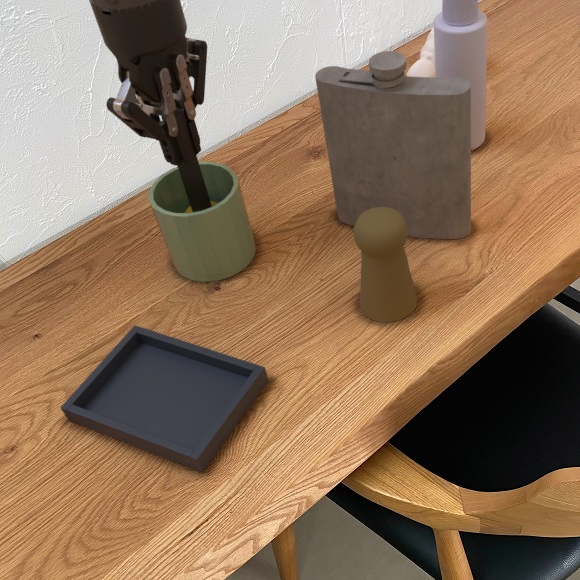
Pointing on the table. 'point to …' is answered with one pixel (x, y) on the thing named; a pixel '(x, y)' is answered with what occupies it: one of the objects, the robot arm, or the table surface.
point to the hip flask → (399, 145)
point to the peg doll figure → (384, 265)
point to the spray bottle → (464, 55)
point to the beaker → (204, 225)
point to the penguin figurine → (425, 60)
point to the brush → (192, 171)
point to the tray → (167, 396)
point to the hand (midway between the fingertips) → (185, 157)
